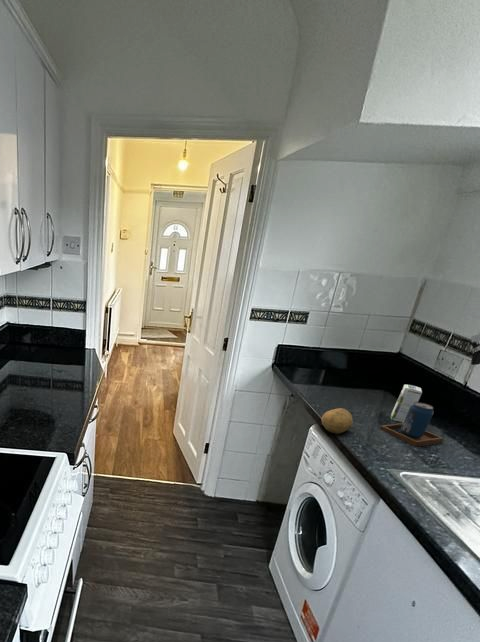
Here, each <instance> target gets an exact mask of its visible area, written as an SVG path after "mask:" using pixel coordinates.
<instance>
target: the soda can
mask: <svg viewBox="0 0 480 642" xmlns="http://www.w3.org/2000/svg"><path fill="white" fill-rule="evenodd" d="M433 415H434V406H433V405H431V404H428V403H425V402H421V401H418V402H415V403H414V404H413V405H412V406H410V408H409V411H408V413H407V415H406V418H405V420H404V422H402V423H403V424H402V427H401V428H400V434H403V435H405V436H407V437H409V438H413V439H419V438H421V437H422V436H423V435H424V433H425V430H426V431H427V428H428V427H429V424H430V422H431V421H432V420H431V419H432V417H433Z"/></svg>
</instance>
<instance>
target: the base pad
mask: <svg viewBox="0 0 480 642" xmlns="http://www.w3.org/2000/svg"><path fill="white" fill-rule="evenodd" d="M402 424H403V422H399V423H392V424H383V425H380V428H379V429H380V430H382V431H384V432H385V433H387V434H389V435H391V436H393V437H395V438H396V439H399V440H401V441H403V442H405V443H407V444H409V445H411V446H413V447H426V446H425V445H427V446H433V445H432V444H434V445H435V444H442V443H443V441H444V437H442V436H440V435H437V434H435V433H433V432H430V431H428V430H427V429H426V430H425V433H424V435H423V436H422V437H421V438H419V439H413V438H409V437H407V436H405V435H403V434H402V433H401V432H398V431H396V430H393V429H401V427H402Z"/></svg>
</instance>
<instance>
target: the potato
mask: <svg viewBox="0 0 480 642" xmlns="http://www.w3.org/2000/svg"><path fill="white" fill-rule="evenodd" d="M353 424H354V422H353V416H352V414H351V413H350V411H348V410H347V409H345V408H342V407H338V408H334V409H331V410H328V411H326V412H324V413H323V414H322V416H321V425H322V426H323V427H324V429H325V430H326V431H327V432H328V433H331V434H336V435H337V434H338V435H339V434H342V433H344V432H347V431H348V430H350V429H351V428H352V426H353Z"/></svg>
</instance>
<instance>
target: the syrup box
mask: <svg viewBox="0 0 480 642" xmlns="http://www.w3.org/2000/svg"><path fill="white" fill-rule="evenodd" d="M422 395H423V389H422V388H421V387H419V386H416V385H413V384H403V386H402V389H401V391H400V393H399V396H398V398H397V400H396V403H394V404H395V405H394V407H393V409H392V411H391V414H390V420H391V421H395V422H399V423H403V422H404V420H405V418H406V415H407V413H408V411H409V408H410V406H412V405H413V404H414V403H415V402H420V399H421V396H422Z"/></svg>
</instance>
